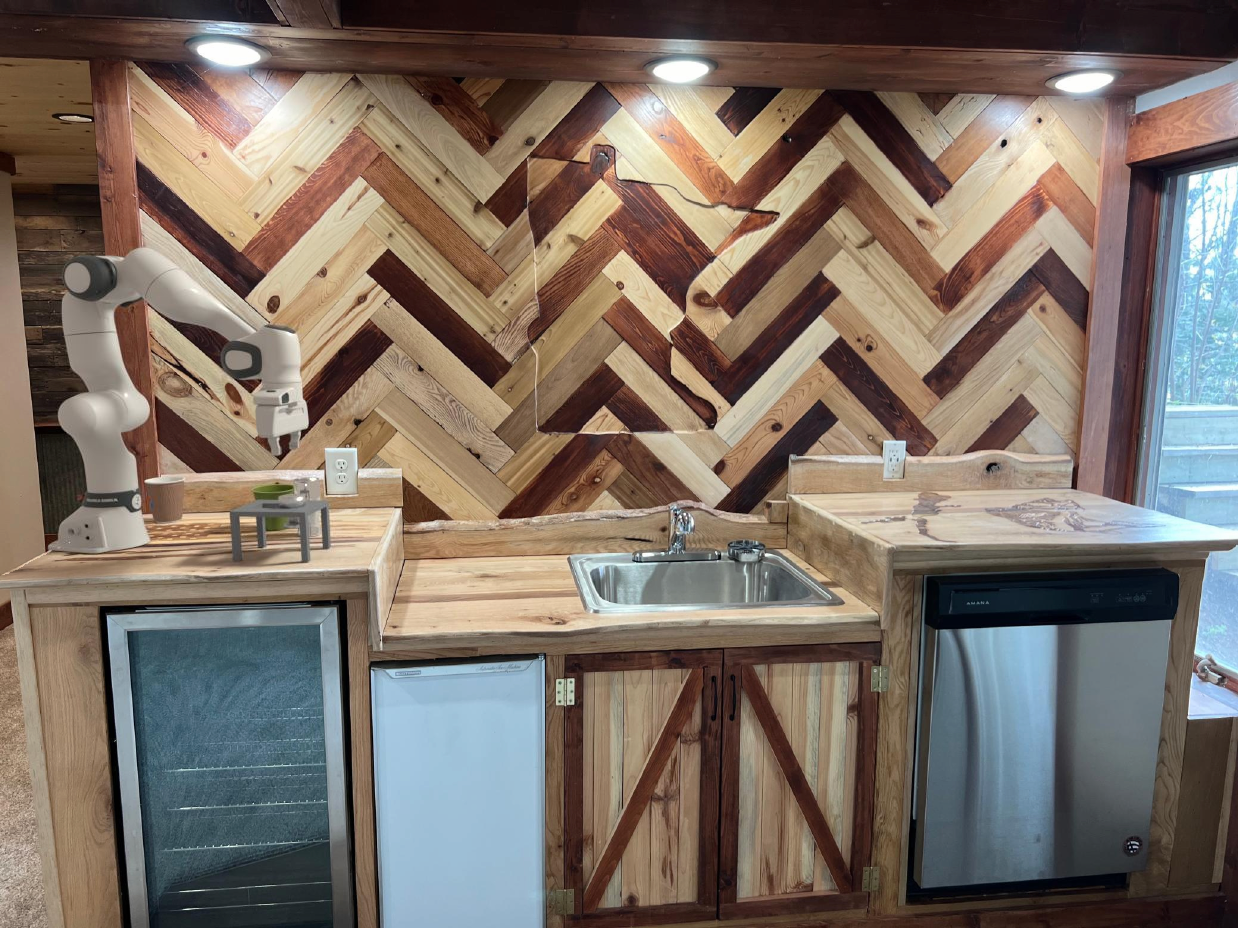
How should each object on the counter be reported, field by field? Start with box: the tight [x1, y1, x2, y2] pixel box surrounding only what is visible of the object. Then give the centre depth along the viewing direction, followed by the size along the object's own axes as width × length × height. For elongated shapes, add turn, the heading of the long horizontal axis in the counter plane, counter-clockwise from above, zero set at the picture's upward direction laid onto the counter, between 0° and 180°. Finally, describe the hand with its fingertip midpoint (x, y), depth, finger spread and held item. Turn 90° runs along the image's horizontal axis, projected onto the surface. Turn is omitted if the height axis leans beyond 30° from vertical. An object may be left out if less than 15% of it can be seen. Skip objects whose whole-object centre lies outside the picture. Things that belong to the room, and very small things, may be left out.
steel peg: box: [279, 494, 306, 530], centre depth 204 cm, size 6×6×8 cm
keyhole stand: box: [229, 499, 332, 563], centre depth 205 cm, size 18×14×12 cm
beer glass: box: [292, 476, 322, 538], centre depth 225 cm, size 7×7×15 cm
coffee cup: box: [144, 476, 186, 524], centre depth 241 cm, size 10×10×12 cm
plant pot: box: [250, 483, 293, 531], centre depth 232 cm, size 12×12×11 cm
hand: (285, 452), depth 203 cm, fingers open, 8 cm apart
